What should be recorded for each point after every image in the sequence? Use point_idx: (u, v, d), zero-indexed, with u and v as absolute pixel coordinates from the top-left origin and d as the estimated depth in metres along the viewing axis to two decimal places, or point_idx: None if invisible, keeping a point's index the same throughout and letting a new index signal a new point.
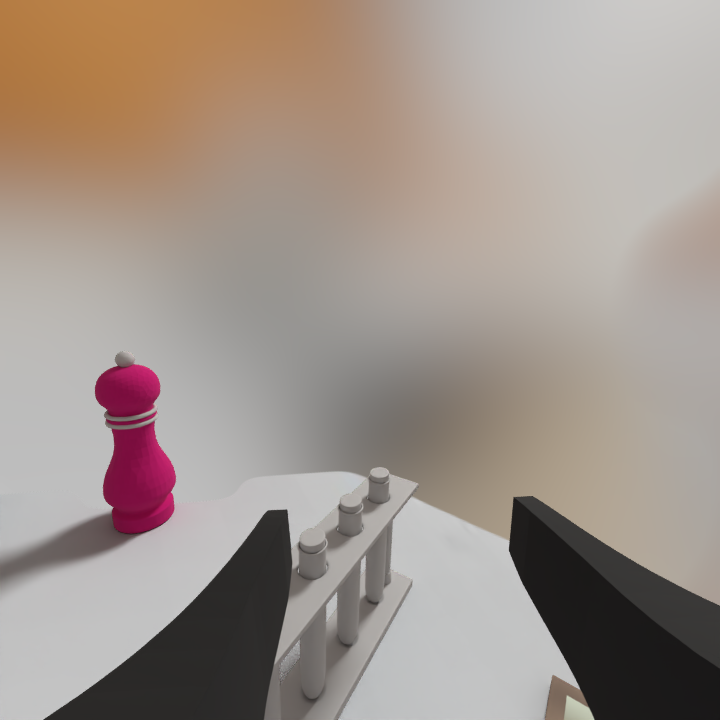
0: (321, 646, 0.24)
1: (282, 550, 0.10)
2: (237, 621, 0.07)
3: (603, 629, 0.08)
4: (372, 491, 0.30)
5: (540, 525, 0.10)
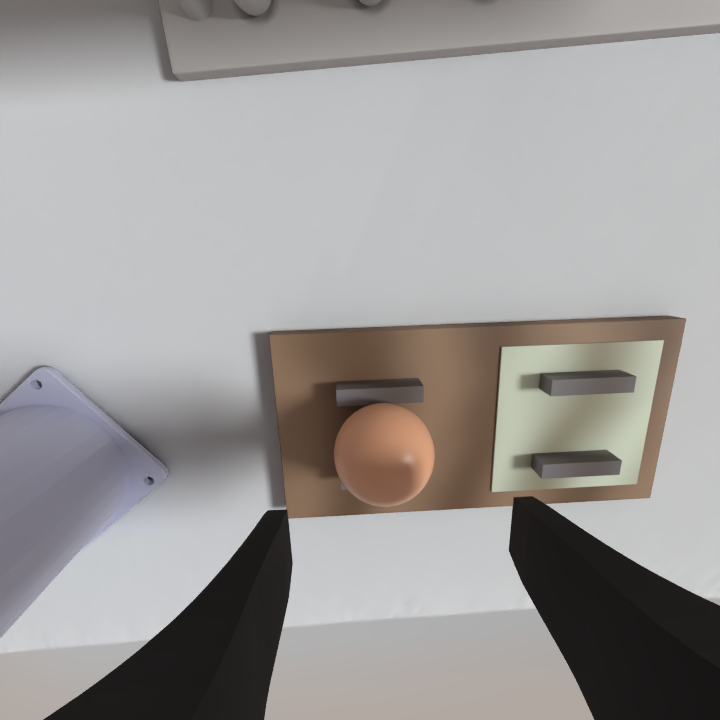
0: None
1: (282, 550, 0.10)
2: (237, 621, 0.07)
3: (603, 629, 0.08)
4: None
5: (540, 525, 0.10)
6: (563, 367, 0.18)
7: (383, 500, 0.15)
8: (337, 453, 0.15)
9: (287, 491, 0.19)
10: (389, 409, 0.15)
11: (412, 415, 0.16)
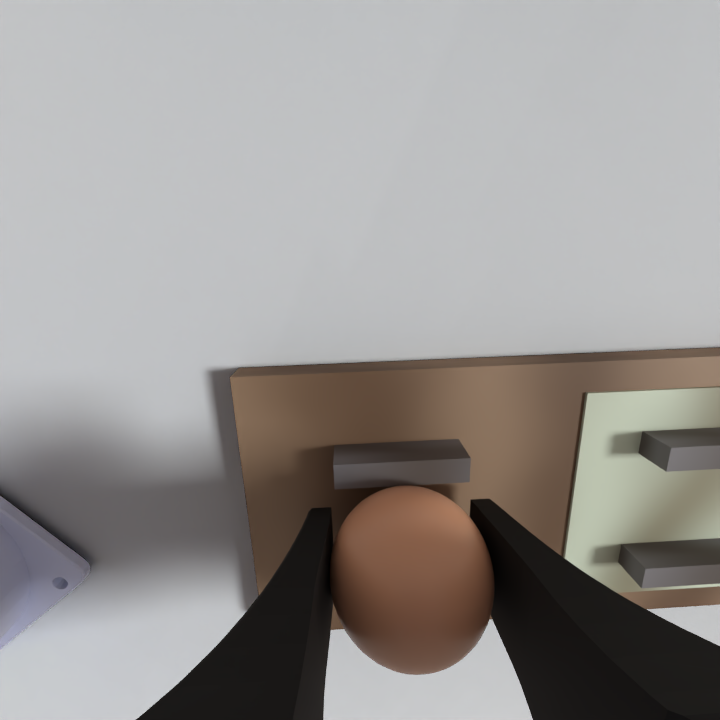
0: None
1: (330, 547, 0.10)
2: (309, 616, 0.07)
3: (540, 633, 0.08)
4: None
5: (491, 528, 0.10)
6: (677, 422, 0.12)
7: (413, 673, 0.09)
8: (335, 582, 0.09)
9: None
10: (421, 507, 0.09)
11: (458, 515, 0.10)
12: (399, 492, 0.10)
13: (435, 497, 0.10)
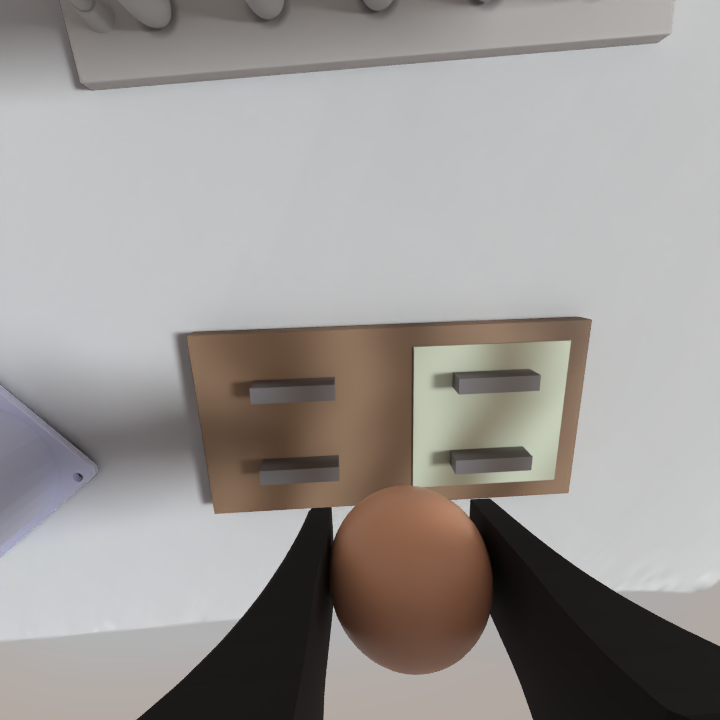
0: None
1: (330, 547, 0.10)
2: (309, 616, 0.07)
3: (540, 633, 0.08)
4: None
5: (491, 528, 0.10)
6: (475, 366, 0.19)
7: (412, 673, 0.09)
8: (334, 582, 0.09)
9: (213, 487, 0.20)
10: (420, 507, 0.09)
11: (457, 515, 0.10)
12: (398, 492, 0.10)
13: (434, 497, 0.10)
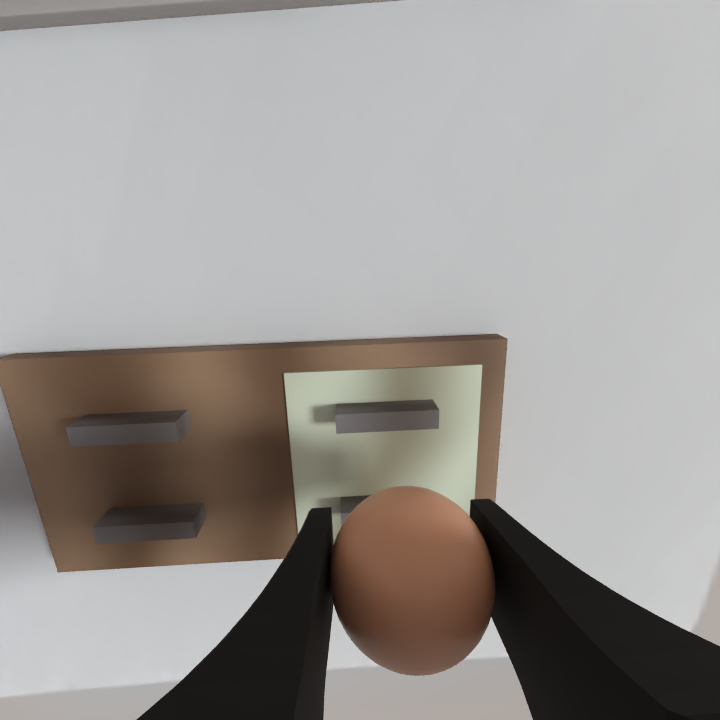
0: None
1: (330, 547, 0.10)
2: (309, 616, 0.07)
3: (540, 633, 0.08)
4: None
5: (491, 528, 0.10)
6: (363, 397, 0.15)
7: (414, 674, 0.09)
8: (335, 583, 0.09)
9: (51, 541, 0.16)
10: (422, 507, 0.09)
11: (458, 515, 0.10)
12: (399, 492, 0.10)
13: (436, 497, 0.10)
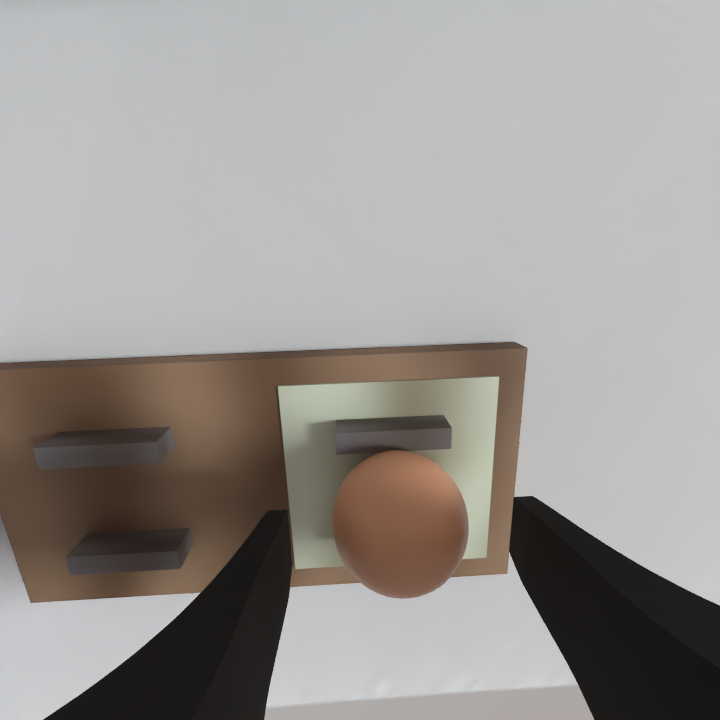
0: None
1: (282, 550, 0.10)
2: (237, 621, 0.07)
3: (603, 629, 0.08)
4: None
5: (540, 525, 0.10)
6: (366, 412, 0.14)
7: (401, 595, 0.11)
8: (337, 525, 0.11)
9: (23, 569, 0.15)
10: (408, 463, 0.11)
11: (438, 471, 0.12)
12: (390, 454, 0.12)
13: (420, 457, 0.12)
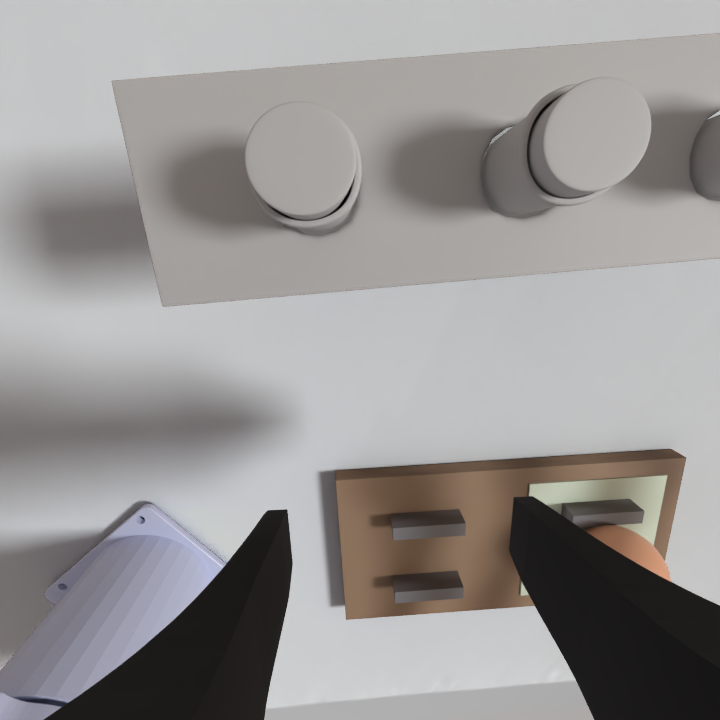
0: None
1: (282, 550, 0.10)
2: (237, 621, 0.07)
3: (603, 629, 0.08)
4: None
5: (540, 525, 0.10)
6: (582, 498, 0.21)
7: None
8: None
9: (346, 598, 0.23)
10: (632, 538, 0.19)
11: (648, 542, 0.19)
12: (613, 530, 0.20)
13: (633, 532, 0.20)
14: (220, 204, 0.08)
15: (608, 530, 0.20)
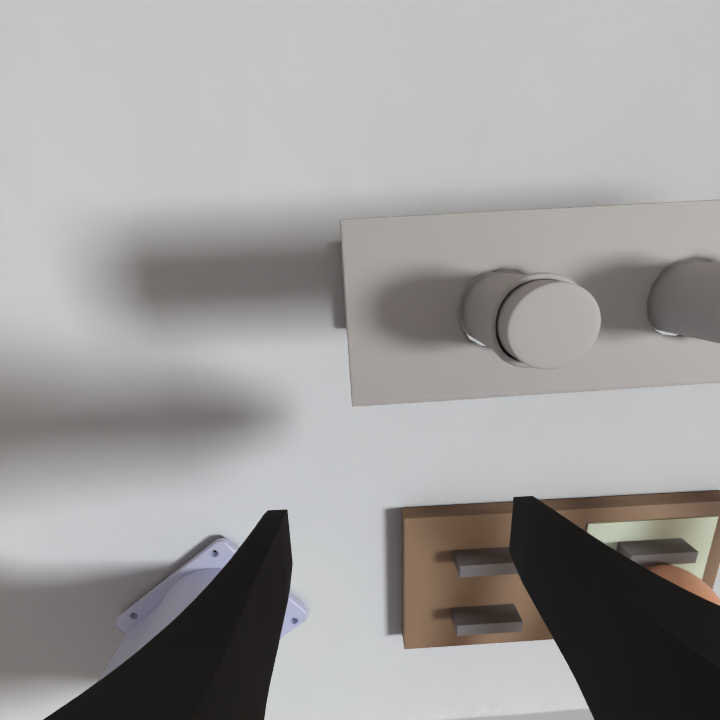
0: None
1: (282, 550, 0.10)
2: (237, 621, 0.07)
3: (603, 629, 0.08)
4: None
5: (541, 525, 0.10)
6: (636, 537, 0.22)
7: None
8: None
9: (406, 629, 0.24)
10: (690, 580, 0.20)
11: (704, 583, 0.20)
12: (670, 570, 0.21)
13: (689, 573, 0.21)
14: (418, 322, 0.08)
15: (665, 570, 0.21)
